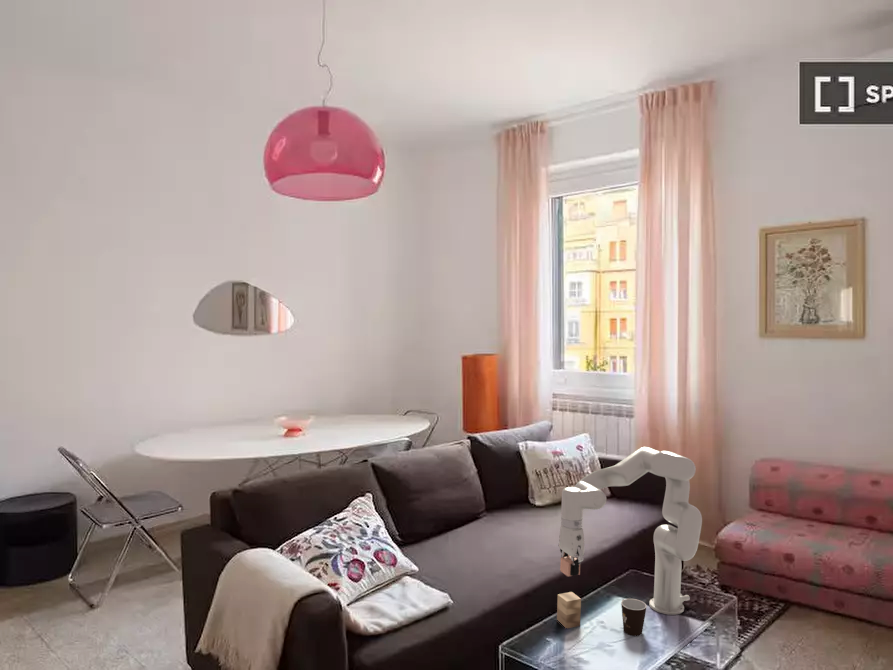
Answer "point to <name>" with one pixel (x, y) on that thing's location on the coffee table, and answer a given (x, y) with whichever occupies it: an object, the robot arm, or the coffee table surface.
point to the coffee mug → (633, 616)
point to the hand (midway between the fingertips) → (570, 571)
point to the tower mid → (569, 603)
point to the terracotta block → (567, 565)
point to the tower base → (568, 619)
